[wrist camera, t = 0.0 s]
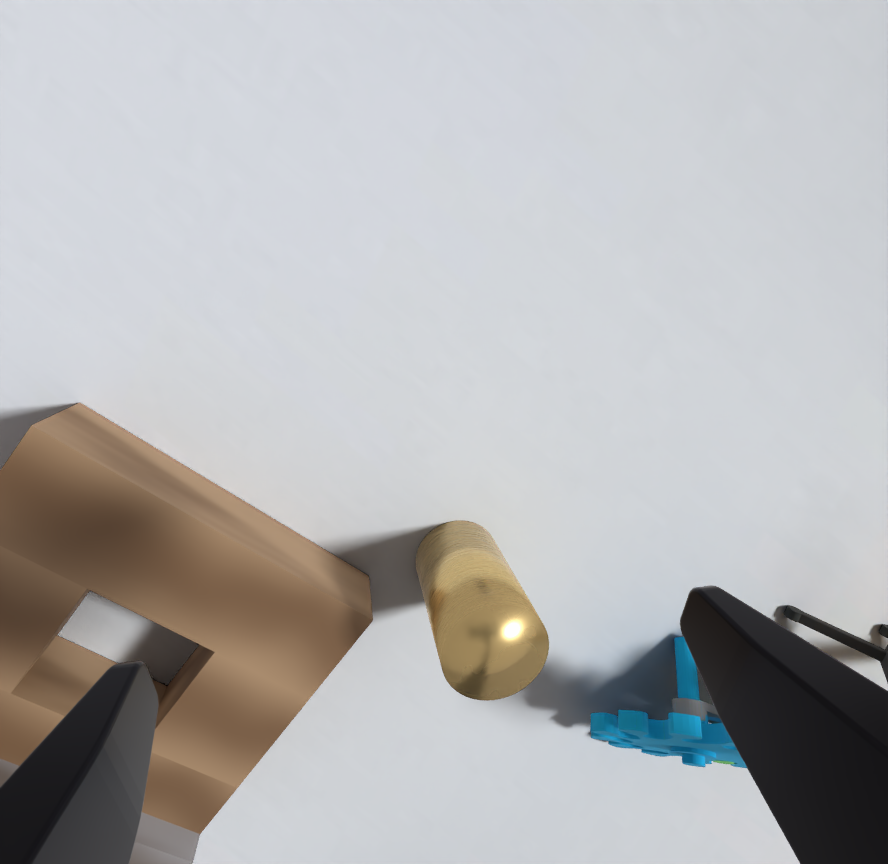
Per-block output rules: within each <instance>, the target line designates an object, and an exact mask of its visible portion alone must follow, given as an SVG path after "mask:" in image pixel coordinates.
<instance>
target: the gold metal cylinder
mask: <svg viewBox="0 0 888 864" xmlns="http://www.w3.org/2000/svg"><path fill="white" fill-rule="evenodd" d="M416 570H417V574H418V578H419V582H420V586H421V589H422V593H423V597H424V601H425V605H426V609H427V613H428V616H429V620H430V624H431V628H432V632H433V636H434V640H435V643H436V647H437V651H438V655H439V659H440V663H441V667H442V670H443V673H444V676H445V678H446V680H447V681H448V683H449V684H450V685H451V687H452V688H454V689H455V690H456V691H457V692H459V693H460V694H462V695H464V696H466V697H469V698H472V699H477V700H496V699H501V698H505V697H508V696H510V695H513V694H515V693H517V692H519V691H520V690H522V689H523V688H525V687H526V686H527V685H529V684H530V683H531V682H532V681H533V680H534V679H535V678H536V677H537V675H538V674H539V673H540V671H541V669H542V668H543V666H544V664H545V662H546V659H547V655H548V650H549V639H548V634H547V631H546V629H545V627H544V625H543V623H542V621H541V620H540V618H539V616H538V614H537V613H536V611H535V609H534V608H533V606H532V604H531V602H530V601H529V599H528V597H527V596H526V594H525V592H524V591H523V589H522V587H521V585H520V584H519V582H518V580H517V579H516V577H515V575H514V573H513V572H512V570H511V568H510V567H509V565H508V563H507V562H506V560H505V558H504V556H503V555H502V553H501V551H500V550H499V548H498V546H497V544H496V543H495V541H494V539H493V538H492V536H491V535H490V533H489V532H488V531H487V530H486V529H484V528H483V527H482V526H480V525H478V524H476V523H473V522H469V521H452V522H448V523H445V524H442V525H440V526H438V527H436V528H435V529H433V530H432V531H431V532H430V533H429V534H428V535H427V536H426V537H425V538H424V539H423V541H422V542H421V544H420V546H419V548H418V551H417V554H416Z"/></svg>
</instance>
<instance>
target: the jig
mask: <svg viewBox="0 0 888 864" xmlns="http://www.w3.org/2000/svg"><path fill="white" fill-rule="evenodd" d="M89 591H92V592H95V593H97V594H99V595H101V596H103V597H105V598H107V599H109V600H111V601H113V602H115V603H117V604H119V605H121V606H123V607H125V608H127V609H129V610H131V611H133V612H135V613H137V614H139V615H141V616H143V617H145V618H147V619H149V620H151V621H153V622H155V623H157V624H159V625H161V626H163V627H165V628H167V629H169V630H171V631H173V632H175V633H177V634H179V635H181V636H183V637H185V638H187V639H189V640H191V641H193V642H196V643H198V644H199V646H198V647H197V648H196V649H195V651H194V652H193V653H192V655H191V656H190V657H189V659H188V660H187V661H186V662H185V664H184V665H183V666H182V668H181V669H180V670H179V672H178V673H177V674H176V675H175V677H174V678H173V679H172V681H171V682H170V683H169V685H168V686H166V685H164V684H161V683H159V682H157V681H155V680H153V679H152V681H153V683H154V686H155V689H156V691H157V694H158V713H157V720H156V726H155V732H154V739H153V745H152V751H151V758H150V764H149V770H148V777H147V783H146V789H145V796H144V802H143V807H142V813H141V819H140V823H139V827H138V831H137V835H136V840H135V843H134V847H133V851H132V855H131V858H130V862H129V864H192V863H193V860H194V856H195V852H196V848H197V844H198V840H199V836H200V834H201V832H202V831H203V830H204V829H205V827H206V826H207V825H208V824H209V822H210V821H211V820H212V819H213V818H214V816H215V815H216V814H217V813H218V811H219V810H220V809H221V808H222V806H223V805H224V804H225V803H226V801H227V800H228V799H229V798H230V796H231V795H232V794H233V793H234V792H235V790H236V789H237V788H238V787H239V785H240V784H241V783H242V782H243V780H244V779H245V778H246V777H247V775H248V774H249V773H250V772H251V770H252V769H253V768H254V767H255V766H256V764H257V763H258V762H259V761H260V759H261V758H262V757H263V756H264V754H265V753H266V752H267V751H268V749H269V748H270V747H271V746H272V745H273V743H274V742H275V741H276V740H277V738H278V737H279V736H280V735H281V733H282V732H283V731H284V730H285V728H286V727H287V726H288V725H289V723H290V722H291V721H292V720H293V719H294V717H295V716H296V715H297V714H298V712H299V711H300V710H301V709H302V707H303V706H304V705H305V704H306V702H307V701H308V700H309V699H310V697H311V696H312V695H313V694H314V693H315V691H316V690H317V689H318V688H319V686H320V685H321V684H322V683H323V681H324V680H325V679H326V678H327V676H328V675H329V674H330V673H331V672H332V670H333V669H334V668H335V667H336V665H337V664H338V663H339V662H340V660H341V659H342V658H343V657H344V655H345V654H346V653H347V652H348V650H349V649H350V648H351V647H352V646H353V644H354V643H355V642H356V641H357V639H358V638H359V637H360V636H361V634H362V633H363V632H364V631H365V629H366V628H367V627H368V626H369V624H370V623H371V622H372V621H373V615H372V604H371V593H370V583H369V576H368V575H366V574H365V573H363V572H361V571H360V570H358V569H356V568H355V567H353V566H351V565H350V564H348V563H346V562H345V561H343V560H341V559H340V558H338V557H336V556H335V555H333V554H331V553H330V552H328V551H326V550H325V549H323V548H321V547H320V546H318V545H316V544H315V543H313V542H311V541H310V540H308V539H306V538H305V537H303V536H301V535H300V534H298V533H296V532H295V531H293V530H291V529H290V528H288V527H286V526H285V525H283V524H281V523H280V522H278V521H276V520H275V519H273V518H271V517H270V516H268V515H266V514H265V513H263V512H261V511H260V510H258V509H256V508H255V507H253V506H251V505H250V504H248V503H246V502H245V501H243V500H241V499H240V498H238V497H236V496H235V495H233V494H231V493H230V492H228V491H226V490H225V489H223V488H221V487H220V486H218V485H216V484H215V483H213V482H211V481H210V480H208V479H206V478H205V477H203V476H201V475H200V474H198V473H196V472H195V471H193V470H191V469H190V468H188V467H186V466H185V465H183V464H181V463H180V462H178V461H176V460H175V459H173V458H171V457H170V456H168V455H166V454H165V453H163V452H161V451H160V450H158V449H156V448H155V447H153V446H151V445H150V444H148V443H146V442H145V441H143V440H141V439H140V438H138V437H136V436H135V435H133V434H131V433H130V432H128V431H126V430H125V429H123V428H121V427H120V426H118V425H116V424H115V423H113V422H111V421H110V420H108V419H106V418H105V417H103V416H101V415H100V414H98V413H96V412H95V411H93V410H91V409H90V408H88V407H86V406H85V405H83V404H81V403H78V404H76V405H74V406H71V407H69V408H67V409H65V410H63V411H61V412H59V413H56V414H54V415H52V416H50V417H48V418H46V419H44V420H42V421H39V422H37V423H35V424H33V425H31V427H30V428H29V430H28V431H27V433H26V434H25V435H24V437H23V438H22V440H21V441H20V443H19V444H18V446H17V447H16V449H15V450H14V451H13V453H12V454H11V456H10V457H9V459H8V460H7V462H6V463H5V465H4V466H3V467H2V469H1V470H0V787H1V786H2V784H3V783H4V782H5V781H6V780H7V779H8V778H9V777H10V776H11V775H12V774H13V772H14V771H15V770H16V769H17V768H18V767H19V766H20V765H21V764H22V763H23V761H24V760H25V759H26V758H27V757H28V756H29V755H30V754H31V753H32V752H33V751H34V749H35V748H36V747H37V746H38V745H39V744H40V743H41V742H42V741H43V740H44V739H45V737H46V736H47V735H48V734H49V733H50V732H51V731H52V730H53V729H54V728H55V727H56V725H57V724H58V723H59V722H60V721H61V720H62V719H63V718H64V717H65V716H66V714H67V713H68V712H69V711H70V710H71V709H72V708H73V707H74V706H75V705H76V704H77V702H78V701H79V700H80V699H81V698H82V697H83V696H84V695H85V694H86V693H87V692H88V690H89V689H90V688H91V687H92V686H93V685H94V684H95V683H96V682H97V681H98V679H99V678H100V677H101V676H102V675H103V674H104V673H105V672H106V671H107V670H108V669H109V668H110V667H111V666H113V665H115V664H118V663H116V662H114V661H111V660H109V659H107V658H105V657H103V656H101V655H98V654H96V653H94V652H92V651H90V650H88V649H85V648H83V647H81V646H79V645H77V644H74V643H72V642H70V641H68V640H66V639H64V638H61V637H59V636H57V635H58V633H59V632H60V631H61V629H62V628H63V626H64V625H65V624H66V622H67V621H68V620H69V618H70V617H71V616H72V614H73V613H74V611H75V610H76V609H77V607H78V606H79V605H80V603H81V602H82V600H83V599H84V598H85V596H86V595H87V594H88V592H89Z"/></svg>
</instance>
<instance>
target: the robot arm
mask: <svg viewBox="0 0 888 864" xmlns="http://www.w3.org/2000/svg"><path fill="white" fill-rule="evenodd" d="M680 626H681V631H682V634H683V637H684V639H685V641H686V643H687V646H688V648H689V650H690V652H691V655H692V657H693V659H694V662H695V664H696V666H697V668H698V671H699V673H700V675H701V678H702V680H703V682H704V684H705V687H706V689H707V691H708V693H709V696H710V698H711V700H712V703H713V705H714V707H715V709H716V711H717V713H718V715H719V717H720V719H721V721H722V723H723V725H724V727H725V729H726V731H727V732H728V734H729V736H730V738H731V740H732V741H733V743H734V745H735V747H736V749H737V750H738V752H739V754H740V756H741V758H742V759H743V761H744V763H745V765H746V767H747V768H748V770H749V772H750V774H751V776H752V777H753V779H754V781H755V783H756V785H757V786H758V788H759V790H760V792H761V794H762V795H763V797H764V799H765V801H766V803H767V804H768V806H769V808H770V810H771V812H772V813H773V815H774V817H775V819H776V821H777V822H778V824H779V826H780V828H781V830H782V831H783V833H784V835H785V837H786V839H787V840H788V842H789V844H790V846H791V848H792V849H793V851H794V853H795V855H796V857H797V858H798V860H799V862H800V864H888V691H887V690H885V689H884V688H882V687H880V686H879V685H877V684H875V683H874V682H872V681H871V680H869V679H867V678H866V677H864V676H862V675H861V674H859V673H858V672H856V671H854V670H853V669H851V668H849V667H848V666H846V665H845V664H843V663H841V662H840V661H838V660H836V659H835V658H833V657H832V656H830V655H828V654H827V653H825V652H823V651H822V650H820V649H818V648H817V647H815V646H814V645H812V644H810V643H809V642H807V641H805V640H804V639H802V638H801V637H799V636H797V635H796V634H794V633H792V632H791V631H789V630H788V629H786V628H784V627H783V626H781V625H779V624H778V623H776V622H775V621H773V620H771V619H770V618H768V617H766V616H765V615H763V614H762V613H760V612H758V611H757V610H755V609H753V608H752V607H750V606H748V605H747V604H745V603H744V602H742V601H740V600H739V599H737V598H735V597H734V596H732V595H731V594H729V593H727V592H726V591H724V590H722V589H721V588H719V587H716V586H704V587H696V588H693V589H692V590H691V591H690V593H689V595H688V598H687V601H686V604H685V607H684V610H683V613H682V616H681V619H680ZM157 713H158V694H157V691H156V689H155V686H154V683H153V681H152V678H151V676H150V673H149V670H148V668H147V666H146V664H145V663H144V662H143V661H132V662H124V663H118V664H115V665H113V666H111V667H110V668H109V669H108V670H107V671H106V672H105V673H104V674H103V675H102V676H101V677H100V678H99V679H98V681H97V682H96V683H95V684H94V685H93V686H92V687H91V688H90V689H89V690H88V692H87V693H86V694H85V695H84V696H83V697H82V698H81V699H80V700H79V701H78V702H77V704H76V705H75V706H74V707H73V708H72V709H71V710H70V711H69V712H68V713H67V714H66V716H65V717H64V718H63V719H62V720H61V721H60V722H59V723H58V724H57V725H56V727H55V728H54V729H53V730H52V731H51V732H50V733H49V734H48V735H47V736H46V737H45V739H44V740H43V741H42V742H41V743H40V744H39V745H38V746H37V747H36V748H35V749H34V751H33V752H32V753H31V754H30V755H29V756H28V757H27V758H26V759H25V760H24V761H23V763H22V764H21V765H20V766H19V767H18V768H17V769H16V770H15V771H14V772H13V774H12V775H11V776H10V777H9V778H8V779H7V780H6V781H5V782H4V783H3V784H2V786H1V787H0V864H129V862H130V858H131V855H132V851H133V847H134V843H135V840H136V835H137V831H138V827H139V823H140V819H141V813H142V807H143V802H144V796H145V789H146V783H147V777H148V770H149V764H150V758H151V751H152V745H153V739H154V732H155V726H156V720H157Z"/></svg>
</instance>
